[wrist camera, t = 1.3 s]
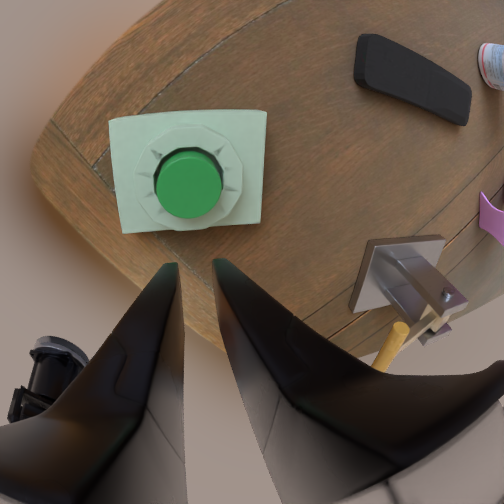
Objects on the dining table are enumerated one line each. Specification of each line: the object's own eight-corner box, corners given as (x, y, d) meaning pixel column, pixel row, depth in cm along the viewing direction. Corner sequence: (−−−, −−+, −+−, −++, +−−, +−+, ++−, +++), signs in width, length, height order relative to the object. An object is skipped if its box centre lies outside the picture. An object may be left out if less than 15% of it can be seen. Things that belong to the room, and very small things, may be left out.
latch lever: (362, 367, 22) (378, 385, 20) (385, 322, 19) (407, 341, 17) (424, 321, 27) (439, 334, 25) (446, 279, 24) (462, 292, 22)
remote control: (348, 83, 18) (459, 126, 21) (360, 84, 17) (471, 130, 20) (354, 31, 16) (465, 86, 19) (366, 29, 14) (477, 89, 17)
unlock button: (161, 209, 17) (159, 221, 15) (156, 153, 15) (153, 159, 13) (218, 205, 17) (222, 216, 16) (218, 149, 16) (222, 155, 14)
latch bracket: (348, 306, 31) (389, 369, 23) (368, 239, 27) (428, 302, 19) (417, 290, 34) (458, 338, 26) (439, 234, 29) (492, 279, 21)
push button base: (127, 220, 20) (117, 247, 17) (116, 117, 16) (100, 124, 13) (253, 211, 22) (266, 235, 19) (258, 110, 18) (275, 114, 15)
